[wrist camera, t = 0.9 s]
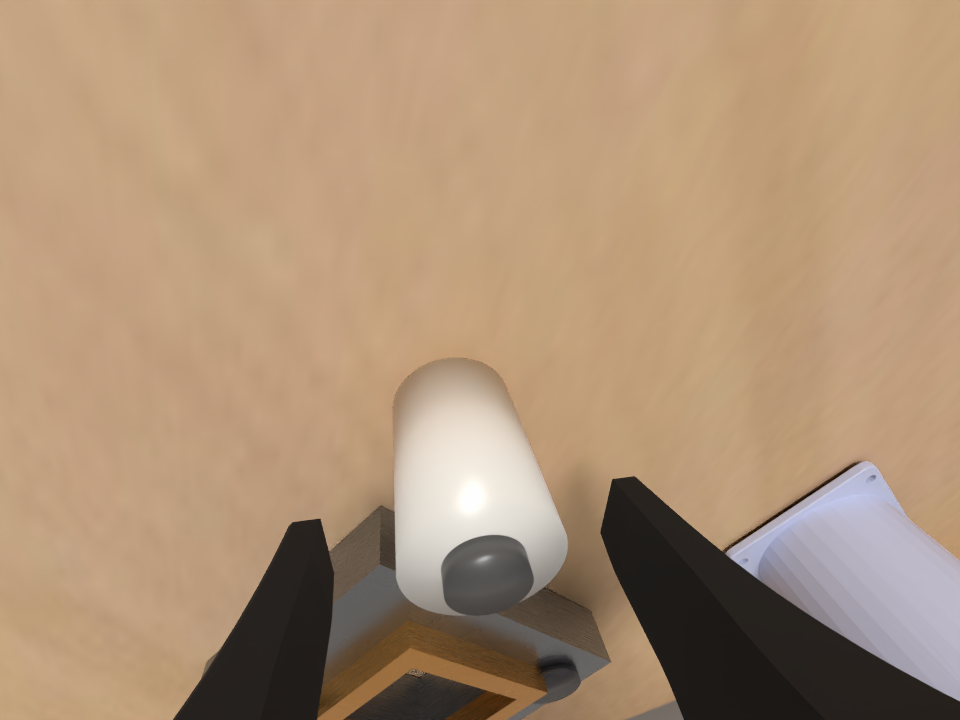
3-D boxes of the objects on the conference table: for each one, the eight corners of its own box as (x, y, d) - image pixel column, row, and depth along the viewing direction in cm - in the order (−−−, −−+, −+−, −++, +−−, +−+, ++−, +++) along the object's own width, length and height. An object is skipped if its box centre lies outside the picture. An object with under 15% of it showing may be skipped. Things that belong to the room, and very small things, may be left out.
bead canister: (531, 400, 16) (611, 568, 10) (453, 468, 17) (487, 656, 11) (450, 334, 14) (492, 497, 8) (367, 416, 15) (356, 610, 9)
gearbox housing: (591, 611, 24) (620, 685, 21) (436, 717, 27) (442, 794, 24) (380, 505, 17) (379, 592, 14) (206, 662, 20) (175, 760, 17)
